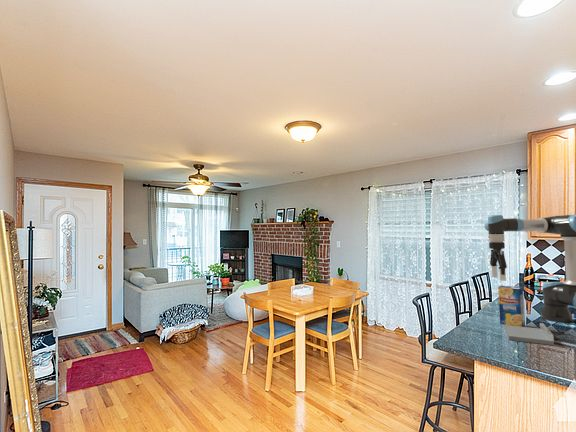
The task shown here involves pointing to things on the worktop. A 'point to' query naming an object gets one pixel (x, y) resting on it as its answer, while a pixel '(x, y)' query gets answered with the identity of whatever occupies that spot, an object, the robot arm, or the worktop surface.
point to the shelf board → (527, 335)
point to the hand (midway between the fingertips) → (498, 278)
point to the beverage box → (511, 306)
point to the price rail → (546, 332)
